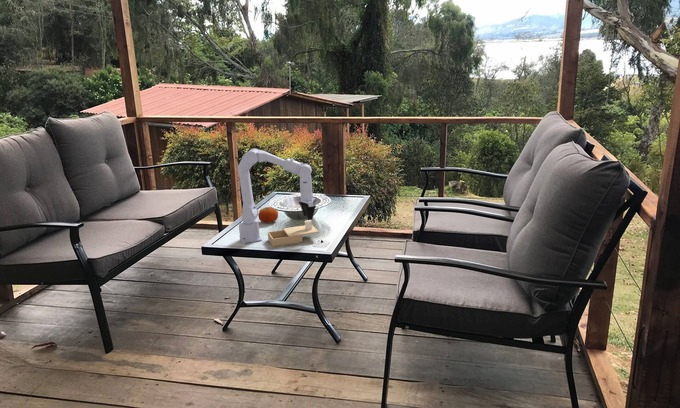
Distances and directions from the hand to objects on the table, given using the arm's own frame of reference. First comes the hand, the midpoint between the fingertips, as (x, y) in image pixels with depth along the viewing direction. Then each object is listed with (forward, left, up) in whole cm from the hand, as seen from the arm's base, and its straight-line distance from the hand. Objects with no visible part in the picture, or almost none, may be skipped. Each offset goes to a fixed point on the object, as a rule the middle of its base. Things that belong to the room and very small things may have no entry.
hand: (308, 217), depth 243 cm
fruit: (-13, +36, -10) cm, 40 cm away
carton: (-12, 0, -10) cm, 16 cm away
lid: (-4, 0, -6) cm, 7 cm away
